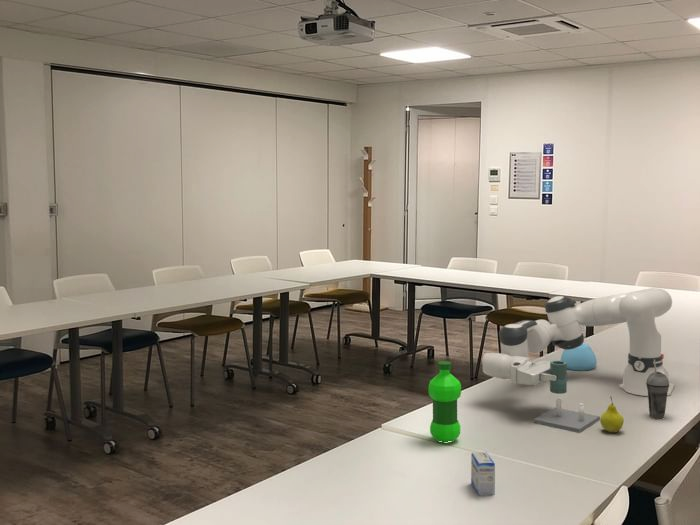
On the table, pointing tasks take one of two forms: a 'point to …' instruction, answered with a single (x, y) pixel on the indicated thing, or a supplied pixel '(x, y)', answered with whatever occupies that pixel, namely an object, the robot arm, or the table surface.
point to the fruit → (612, 419)
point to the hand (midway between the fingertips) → (560, 376)
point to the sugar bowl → (579, 358)
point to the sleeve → (561, 371)
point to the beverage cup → (657, 393)
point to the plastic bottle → (445, 404)
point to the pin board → (567, 418)
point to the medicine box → (483, 473)
